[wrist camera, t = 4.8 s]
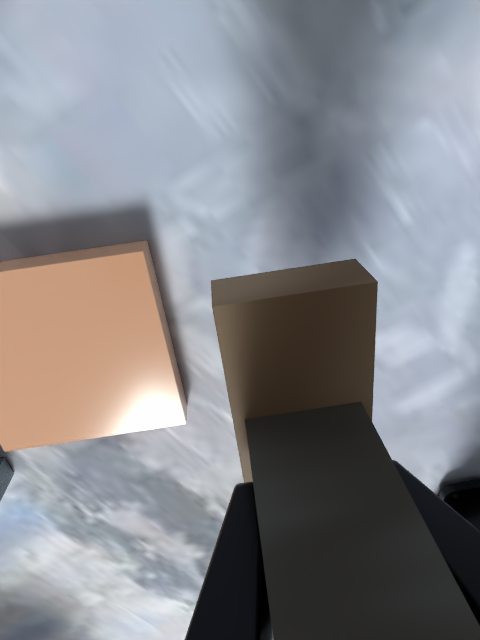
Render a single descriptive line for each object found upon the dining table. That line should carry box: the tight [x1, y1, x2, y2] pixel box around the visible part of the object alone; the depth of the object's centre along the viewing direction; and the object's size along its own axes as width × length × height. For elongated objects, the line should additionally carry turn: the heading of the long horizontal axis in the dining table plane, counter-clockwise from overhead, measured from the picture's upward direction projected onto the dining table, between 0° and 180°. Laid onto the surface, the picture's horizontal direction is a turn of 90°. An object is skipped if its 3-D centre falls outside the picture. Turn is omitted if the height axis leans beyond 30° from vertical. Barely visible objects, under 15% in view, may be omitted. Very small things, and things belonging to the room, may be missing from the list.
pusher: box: [211, 259, 480, 640], centre depth 7 cm, size 3×8×6 cm, turn 7°
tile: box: [0, 240, 187, 452], centre depth 14 cm, size 7×7×2 cm
